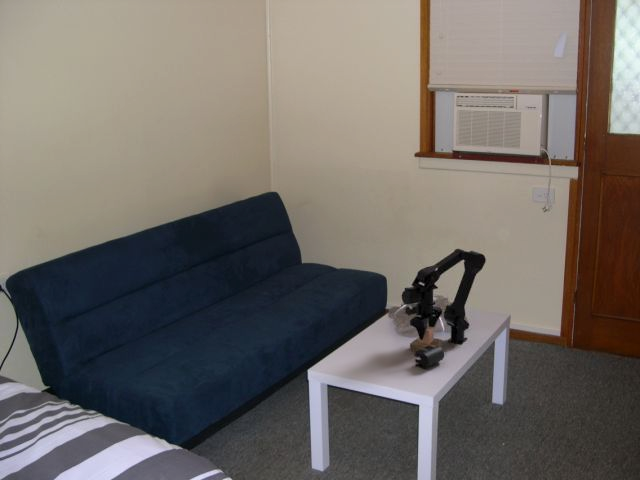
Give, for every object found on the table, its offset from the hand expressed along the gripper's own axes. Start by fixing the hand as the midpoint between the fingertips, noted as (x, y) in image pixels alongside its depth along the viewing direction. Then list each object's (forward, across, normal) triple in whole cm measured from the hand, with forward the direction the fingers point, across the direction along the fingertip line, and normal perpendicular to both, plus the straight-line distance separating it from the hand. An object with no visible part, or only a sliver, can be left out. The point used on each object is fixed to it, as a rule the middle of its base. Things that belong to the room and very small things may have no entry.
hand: (426, 335), depth 315 cm
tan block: (+6, 0, 0) cm, 6 cm away
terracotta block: (+3, 0, 0) cm, 3 cm away
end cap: (+6, +14, +8) cm, 17 cm away
